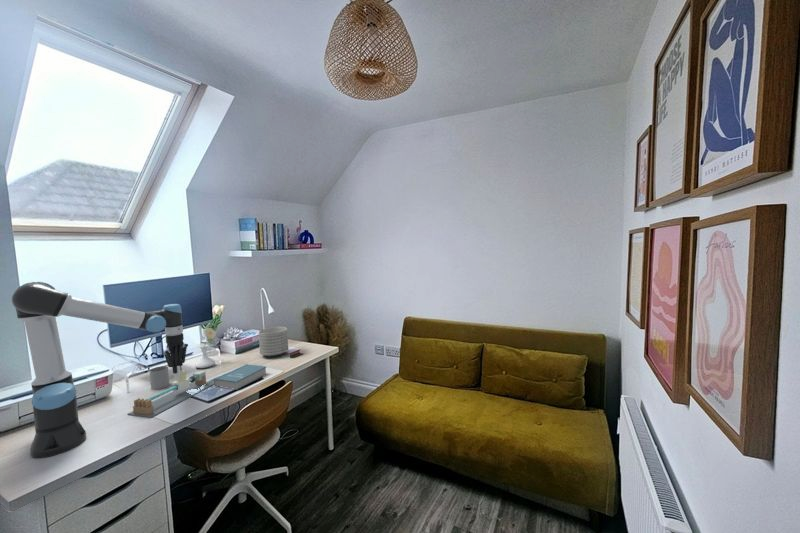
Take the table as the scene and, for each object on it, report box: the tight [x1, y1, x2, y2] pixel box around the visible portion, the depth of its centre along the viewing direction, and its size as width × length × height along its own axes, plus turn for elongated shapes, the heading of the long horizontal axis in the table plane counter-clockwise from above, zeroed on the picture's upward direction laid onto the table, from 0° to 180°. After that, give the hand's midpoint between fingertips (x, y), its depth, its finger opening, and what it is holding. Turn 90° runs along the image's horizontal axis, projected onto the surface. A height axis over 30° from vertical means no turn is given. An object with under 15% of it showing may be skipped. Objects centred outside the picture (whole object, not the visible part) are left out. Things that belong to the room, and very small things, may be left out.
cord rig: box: [127, 370, 214, 419], centre depth 165 cm, size 36×14×7 cm, turn 166°
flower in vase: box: [195, 327, 217, 369], centre depth 210 cm, size 13×11×25 cm
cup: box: [149, 365, 170, 390], centre depth 181 cm, size 8×8×10 cm
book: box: [213, 363, 268, 391], centre depth 187 cm, size 23×16×5 cm
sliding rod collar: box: [171, 370, 191, 392], centre depth 169 cm, size 6×5×10 cm
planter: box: [258, 326, 289, 358], centre depth 229 cm, size 19×19×18 cm
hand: (177, 378), depth 167 cm, fingers closed
